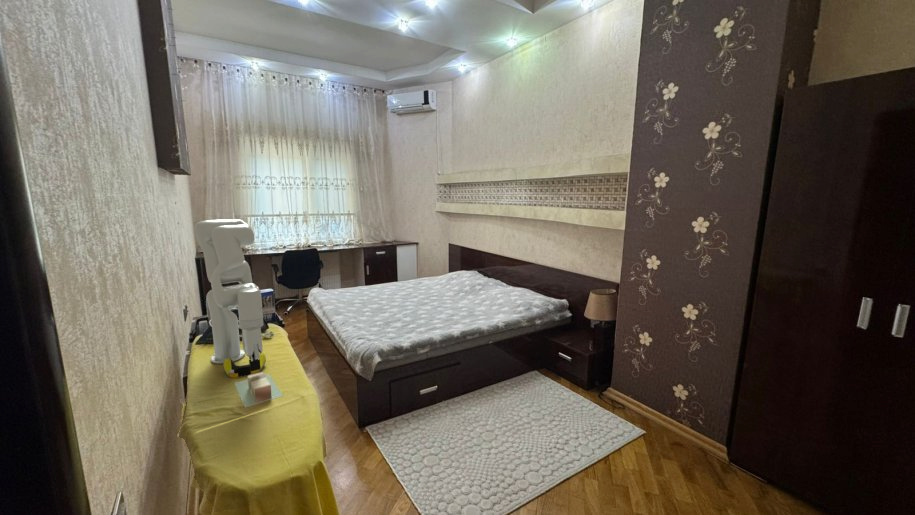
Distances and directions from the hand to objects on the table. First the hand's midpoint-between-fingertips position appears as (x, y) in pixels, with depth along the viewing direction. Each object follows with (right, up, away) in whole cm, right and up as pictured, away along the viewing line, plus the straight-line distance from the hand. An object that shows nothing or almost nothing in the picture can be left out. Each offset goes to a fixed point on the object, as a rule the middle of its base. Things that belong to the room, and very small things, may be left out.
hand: (255, 369), depth 136 cm
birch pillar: (-1, -4, +2) cm, 5 cm away
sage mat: (+1, -8, 0) cm, 8 cm away
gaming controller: (-11, -5, +13) cm, 18 cm away
